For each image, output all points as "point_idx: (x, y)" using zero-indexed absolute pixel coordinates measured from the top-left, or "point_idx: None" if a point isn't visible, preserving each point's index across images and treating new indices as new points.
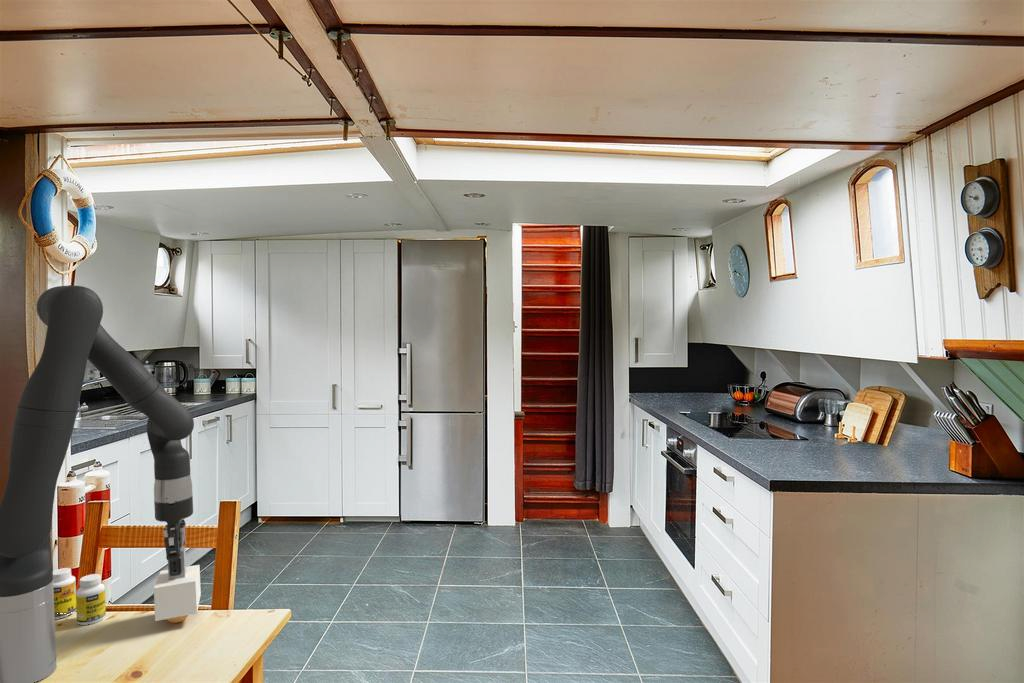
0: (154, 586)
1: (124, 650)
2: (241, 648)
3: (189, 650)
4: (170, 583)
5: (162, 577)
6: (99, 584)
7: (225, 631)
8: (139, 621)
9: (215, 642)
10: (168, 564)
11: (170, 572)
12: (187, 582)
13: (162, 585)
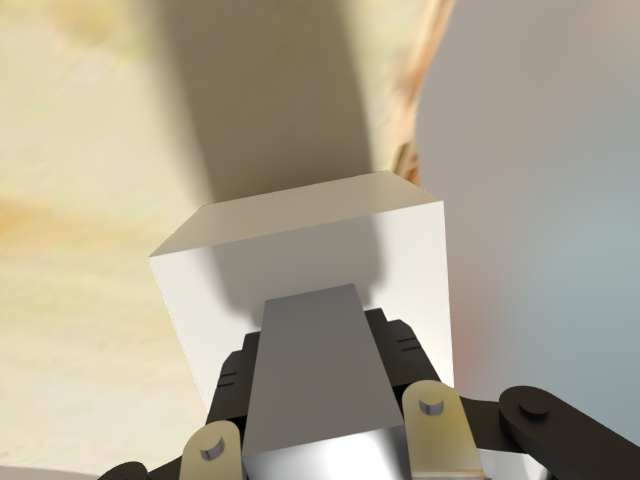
0: (175, 252)
1: (90, 129)
2: (86, 448)
3: (81, 334)
4: (208, 327)
5: (316, 251)
6: None
7: (188, 391)
8: (323, 98)
9: (125, 385)
10: (254, 371)
11: (245, 347)
12: (205, 404)
13: (183, 294)
